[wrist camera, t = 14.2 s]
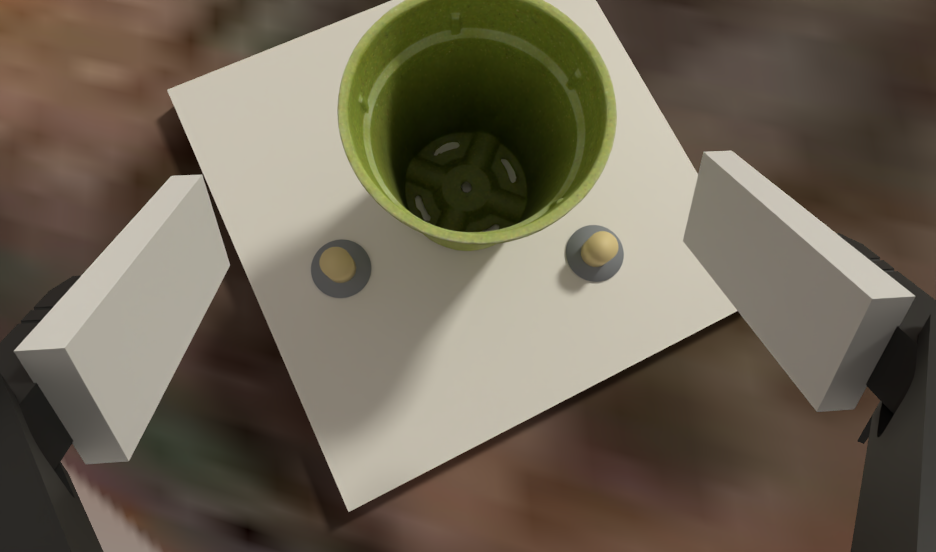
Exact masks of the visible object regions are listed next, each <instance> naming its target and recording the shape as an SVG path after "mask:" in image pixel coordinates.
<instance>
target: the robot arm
mask: <svg viewBox="0 0 936 552" xmlns="http://www.w3.org/2000/svg"><path fill="white" fill-rule="evenodd" d="M683 242H684V243H685V244H686V246H687V247H688V248H689V249H690V251H691V252H692V253H693V254H694V256H695V257H696V258H697V260H698V261H699V262H700V263H701V265H702V266H703V267H704V269H705V270H706V271H707V272H708V274H709V275H710V276H711V277H712V279H713V280H714V281H715V283H716V284H717V285H718V286H719V288H720V289H721V290H722V291H723V293H724V294H725V295H726V297H727V298H728V299H729V300H730V302H731V303H732V304H733V305H734V307H735V308H736V309H737V311H738V312H739V313H740V314H741V316H742V317H743V318H744V320H745V321H746V322H747V323H748V325H749V326H750V327H751V328H752V330H753V331H754V332H755V334H756V335H757V336H758V337H759V339H760V340H761V341H762V342H763V344H764V345H765V346H766V348H767V349H768V350H769V351H770V353H771V354H772V355H773V357H774V358H775V359H776V360H777V362H778V363H779V364H780V365H781V367H782V368H783V369H784V371H785V372H786V373H787V374H788V376H789V377H790V378H791V379H792V381H793V382H794V383H795V385H796V386H797V387H798V388H799V390H800V391H801V392H802V393H803V395H804V396H805V397H806V399H807V400H808V401H809V402H810V404H811V405H812V406H813V408H814V409H815V410H816V411H817V412H822V411H836V410H850V409H855V407H856V405H857V403H858V401H859V400H860V398H861V396H862V394H863V392H864V390H865V389H866V387H867V386H868V387H869V389H870V390H871V391H872V392H873V393H874V394H875V395H876V396H877V397H878V398H879V399H880V400H881V401H880V403H879V404H878V406H877V408H876V409H875V411H874V413H873V415H872V416H871V418H870V420H869V422H868V423H867V425H866V427H865V429H864V430H863V432H862V434H861V436H860V437H859V439H858V442H861V443H863V444H864V443H865V441H866V440H867V439H868V437H869V440H868V446H867V453H866V459H865V465H864V471H863V478H862V484H861V490H860V497H859V503H858V509H857V516H856V522H855V528H854V535H853V541H852V547H851V552H936V300H934V299H933V298H932V297H931V296H929V295H928V294H927V293H925V292H924V291H923V290H921V289H920V288H919V287H917V286H916V285H915V284H914V283H912V282H911V281H910V280H908V279H907V278H906V277H904V276H903V275H902V274H901V273H899V272H898V271H894V268H893V267H891V266H890V265H889V264H888V263H886V262H885V261H884V260H880V257H878V256H877V255H876V254H875V253H873V252H872V251H871V250H869V249H868V248H867V247H865V246H864V245H863V244H861V243H859V242H857V241H854V240H852V239H850V238H848V237H846V236H844V235H842V234H839V233H835V232H834V231H832V230H831V229H830V228H829V227H827V226H826V225H825V224H824V223H822V222H821V221H820V220H818V219H817V218H816V217H815V216H813V215H812V214H811V213H810V212H808V211H807V210H806V209H805V208H803V207H802V206H801V205H800V204H798V203H797V202H796V201H794V200H793V199H792V198H791V197H789V196H788V195H787V194H786V193H784V192H783V191H782V190H781V189H779V188H778V187H777V186H775V185H774V184H773V183H772V182H770V181H769V180H768V179H767V178H765V177H764V176H763V175H762V174H760V173H759V172H758V171H757V170H755V169H754V168H753V167H751V166H750V165H749V164H748V163H746V162H745V161H744V160H743V159H741V158H740V157H739V156H738V155H736V154H735V153H734V152H732V151H712V152H703V156H702V161H701V165H700V169H699V174H698V178H697V182H696V186H695V191H694V195H693V199H692V203H691V208H690V212H689V216H688V221H687V225H686V229H685V233H684V238H683ZM229 266H230V263H229V260H228V257H227V253H226V250H225V247H224V244H223V240H222V237H221V234H220V231H219V227H218V224H217V221H216V218H215V214H214V211H213V208H212V205H211V201H210V198H209V195H208V192H207V188H206V185H205V182H204V179H203V175H182V176H171V177H170V178H169V179H168V180H167V181H166V183H165V184H164V185H163V186H162V187H161V188H160V189H159V190H158V191H157V193H156V194H155V195H154V196H153V197H152V198H151V199H150V200H149V201H148V203H147V204H146V205H145V206H144V207H143V208H142V209H141V210H140V211H139V212H138V214H137V215H136V216H135V217H134V218H133V219H132V220H131V221H130V222H129V224H128V225H127V226H126V227H125V228H124V229H123V230H122V231H121V232H120V234H119V235H118V236H117V237H116V238H115V239H114V240H113V241H112V242H111V244H110V245H109V246H108V247H107V248H106V249H105V250H104V251H103V252H102V254H101V255H100V256H99V257H98V258H97V259H96V260H95V261H94V262H93V264H92V265H91V266H90V267H89V268H88V269H87V270H86V271H85V272H84V274H83V275H82V276H72V277H71V278H69V279H68V280H66V281H64V282H63V283H61V284H60V285H58V286H56V287H55V288H53V289H52V290H50V291H49V292H48V293H47V294H46V295H45V296H44V297H43V298H42V299H41V300H40V301H39V302H38V303H37V304H36V306H35V307H34V310H31V311H30V312H29V313H28V314H27V315H26V316H25V317H24V318H23V319H22V320H21V324H17V326H16V327H15V328H14V329H13V330H12V331H11V332H10V333H9V334H8V335H7V336H6V337H5V338H4V339H3V340H2V341H1V342H0V552H103V550H102V548H101V545H100V543H99V541H98V539H97V537H96V534H95V532H94V530H93V528H92V525H91V523H90V521H89V519H88V516H87V514H86V512H85V510H84V507H83V505H82V503H81V501H80V498H79V496H78V494H77V492H76V490H75V487H74V485H73V483H72V481H71V478H70V476H69V474H68V472H67V471H66V469H65V468H64V466H63V465H62V463H61V462H60V461H61V460H62V458H63V457H64V455H65V453H66V452H67V450H68V449H69V447H70V446H71V444H73V445H74V447H75V448H76V450H77V451H78V453H79V455H80V456H81V458H82V459H83V461H84V462H85V464H96V463H110V462H124V461H129V460H130V458H131V456H132V454H133V452H134V450H135V448H136V446H137V444H138V442H139V440H140V439H141V437H142V435H143V433H144V431H145V429H146V427H147V425H148V423H149V421H150V419H151V417H152V415H153V413H154V411H155V410H156V408H157V406H158V404H159V402H160V400H161V398H162V396H163V394H164V392H165V390H166V388H167V386H168V384H169V382H170V381H171V379H172V377H173V375H174V373H175V371H176V369H177V367H178V365H179V363H180V361H181V359H182V357H183V355H184V353H185V352H186V350H187V348H188V346H189V344H190V342H191V340H192V338H193V336H194V334H195V332H196V330H197V328H198V326H199V324H200V323H201V321H202V319H203V317H204V315H205V313H206V311H207V309H208V307H209V305H210V303H211V301H212V299H213V297H214V295H215V294H216V292H217V290H218V288H219V286H220V284H221V282H222V280H223V278H224V276H225V274H226V272H227V270H228V268H229Z"/></svg>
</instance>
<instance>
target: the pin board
mask: <svg viewBox="0 0 936 552" xmlns="http://www.w3.org/2000/svg"><path fill="white" fill-rule="evenodd" d="M403 1H405V0H392V1H389V2H387V3H384V4H382V5H379V6H376V7H374V8H371V9H369V10H366V11H364V12H361V13H359V14H356V15H354V16H351V17H349V18H346V19H344V20H341V21H339V22H336V23H334V24H331V25H329V26H326V27H324V28H321V29H319V30H316V31H314V32H311V33H309V34H306V35H304V36H301V37H299V38H296V39H294V40H291V41H289V42H286V43H284V44H281V45H279V46H276V47H274V48H271V49H269V50H266V51H264V52H261V53H259V54H256V55H254V56H251V57H248V58H246V59H243V60H241V61H238V62H236V63H233V64H231V65H228V66H226V67H223V68H221V69H218V70H216V71H213V72H211V73H208V74H206V75H203V76H201V77H198V78H196V79H193V80H191V81H188V82H186V83H183V84H181V85H178V86H176V87H173V88H171V89H168V90H167V91H168V93H169V95H170V98H171V100H172V102H173V105H174V107H175V109H176V112H177V114H178V116H179V119H180V121H181V123H182V126H183V128H184V130H185V133H186V135H187V137H188V140H189V142H190V144H191V147H192V149H193V151H194V154H195V156H196V158H197V161H198V163H199V165H200V168H201V170H202V172H203V174H204V177H205V179H206V181H207V184H208V186H209V188H210V191H211V193H212V195H213V198H214V200H215V202H216V205H217V207H218V209H219V212H220V214H221V216H222V219H223V221H224V223H225V226H226V228H227V230H228V233H229V235H230V237H231V240H232V242H233V244H234V247H235V249H236V251H237V254H238V256H239V258H240V261H241V263H242V265H243V268H244V270H245V272H246V275H247V277H248V279H249V282H250V284H251V286H252V289H253V291H254V293H255V296H256V298H257V300H258V303H259V305H260V307H261V310H262V312H263V314H264V317H265V319H266V321H267V324H268V326H269V328H270V330H271V333H272V335H273V337H274V340H275V342H276V344H277V347H278V349H279V351H280V354H281V356H282V358H283V361H284V363H285V365H286V368H287V370H288V372H289V375H290V377H291V379H292V382H293V384H294V386H295V389H296V391H297V393H298V396H299V398H300V400H301V403H302V405H303V407H304V410H305V412H306V414H307V417H308V419H309V421H310V424H311V426H312V428H313V431H314V433H315V435H316V438H317V440H318V442H319V445H320V447H321V449H322V452H323V454H324V456H325V459H326V461H327V463H328V466H329V468H330V470H331V473H332V475H333V477H334V480H335V482H336V484H337V486H338V489H339V491H340V493H341V496H342V498H343V500H344V503H345V505H346V507H347V510H348V512H350V511H352V510H354V509H356V508H357V507H359V506H361V505H363V504H365V503H367V502H369V501H371V500H373V499H375V498H377V497H379V496H381V495H383V494H385V493H386V492H388V491H390V490H392V489H394V488H396V487H398V486H400V485H402V484H404V483H406V482H408V481H410V480H412V479H414V478H415V477H417V476H419V475H421V474H423V473H425V472H427V471H429V470H431V469H433V468H435V467H437V466H439V465H441V464H442V463H444V462H446V461H448V460H450V459H452V458H454V457H456V456H458V455H460V454H462V453H464V452H466V451H468V450H470V449H471V448H473V447H475V446H477V445H479V444H481V443H483V442H485V441H487V440H489V439H491V438H493V437H495V436H497V435H499V434H500V433H502V432H504V431H506V430H508V429H510V428H512V427H514V426H516V425H518V424H520V423H522V422H524V421H526V420H528V419H529V418H531V417H533V416H535V415H537V414H539V413H541V412H543V411H545V410H547V409H549V408H551V407H553V406H555V405H557V404H558V403H560V402H562V401H564V400H566V399H568V398H570V397H572V396H574V395H576V394H578V393H580V392H582V391H584V390H586V389H587V388H589V387H591V386H593V385H595V384H597V383H599V382H601V381H603V380H605V379H607V378H609V377H611V376H613V375H615V374H616V373H618V372H620V371H622V370H624V369H626V368H628V367H630V366H632V365H634V364H636V363H638V362H640V361H642V360H644V359H645V358H647V357H649V356H651V355H653V354H655V353H657V352H659V351H661V350H663V349H665V348H667V347H669V346H671V345H673V344H674V343H676V342H678V341H680V340H682V339H684V338H686V337H688V336H690V335H692V334H694V333H696V332H698V331H700V330H702V329H703V328H705V327H707V326H709V325H711V324H713V323H715V322H717V321H719V320H721V319H723V318H725V317H727V316H729V315H731V314H732V313H734V312H736V311H737V309H736V308H735V307H734V305H733V304H732V303H731V302H730V300H729V299H728V298H727V297H726V295H725V294H724V293H723V291H722V290H721V289H720V288H719V286H718V285H717V284H716V283H715V281H714V280H713V279H712V277H711V276H710V275H709V274H708V272H707V271H706V270H705V269H704V267H703V266H702V265H701V263H700V262H699V261H698V260H697V258H696V257H695V256H694V254H693V253H692V252H691V251H690V249H689V248H688V247H687V246H686V244H685V243H684V242H683V238H684V233H685V229H686V225H687V221H688V216H689V212H690V208H691V203H692V199H693V195H694V191H695V186H696V182H697V178H698V174H697V172H696V170H695V169H694V167H693V165H692V164H691V162H690V160H689V159H688V157H687V155H686V153H685V152H684V150H683V148H682V147H681V145H680V143H679V141H678V140H677V138H676V136H675V135H674V133H673V131H672V130H671V128H670V126H669V124H668V123H667V121H666V119H665V118H664V116H663V114H662V112H661V111H660V109H659V107H658V106H657V104H656V102H655V101H654V99H653V97H652V95H651V94H650V92H649V90H648V89H647V87H646V85H645V83H644V82H643V80H642V78H641V77H640V75H639V73H638V72H637V70H636V68H635V66H634V65H633V63H632V61H631V60H630V58H629V56H628V54H627V53H626V51H625V49H624V48H623V46H622V44H621V43H620V41H619V39H618V37H617V36H616V34H615V32H614V31H613V29H612V27H611V25H610V24H609V22H608V20H607V19H606V17H605V15H604V14H603V12H602V10H601V8H600V7H599V5H598V3H597V2H596V0H544V1H545V2H547V3H550V4H551V5H553V6H554V7H556V8H558V9H559V10H560V11H561V12H563V13H564V14H565V15H567V16H568V17H569V18H570V19H571V20H572V21H574V22H575V23H576V24H577V25H578V26H579V27H580V28H581V29H582V30H583V31H584V32H585V33H586V35H587V36H588V37H589V38H590V39H591V41H592V42H593V43H594V45H595V47H596V48H597V50H598V52H599V53H600V55H601V57H602V59H603V61H604V63H605V65H606V67H607V69H608V71H609V74H610V77H611V80H612V83H613V88H614V93H615V99H616V110H617V125H616V133H615V138H614V143H613V147H612V151H611V153H610V156H609V158H608V161H607V163H606V166H605V168H604V170H603V172H602V174H601V175H600V177H599V179H598V180H597V182H596V183H595V185H594V186H593V188H592V189H591V190H590V192H589V193H588V194H587V195H586V196H585V198H584V199H583V200H582V201H581V202H580V203H579V204H578V205H576V206H575V207H574V208H573V209H572V210H571V211H570V212H568V213H567V214H566V215H565V216H564V217H562V218H561V219H559V220H558V221H556V222H555V223H553V224H552V225H550V226H548V227H547V228H545V229H543V230H541V231H539V232H537V233H534V234H532V235H530V236H528V237H524V238H521V239H518V240H514V241H510V242H504V243H499V244H495V245H493V246H491V247H488V248H485V249H480V250H474V251H459V250H454V249H450V248H447V247H444V246H441V245H439V244H437V243H435V242H433V241H431V240H430V239H428V238H427V237H426V236H425V235H424V234H422V233H420V232H418V231H416V230H414V229H412V228H410V227H408V226H407V225H405V224H403V223H402V222H400V221H399V220H397V219H396V218H394V217H393V216H392V215H391V214H389V213H388V212H387V211H385V210H384V209H383V208H382V207H381V206H380V205H379V204H378V203H377V202H376V201H375V200H374V199H373V198H372V197H371V196H370V194H369V193H368V192H367V191H366V190H365V188H364V187H363V186H362V184H361V183H360V181H359V180H358V178H357V176H356V175H355V173H354V171H353V169H352V167H351V165H350V163H349V161H348V159H347V156H346V154H345V151H344V148H343V145H342V141H341V137H340V132H339V127H338V114H337V109H338V96H339V89H340V83H341V80H342V76H343V72H344V70H345V67H346V65H347V62H348V60H349V58H350V56H351V54H352V52H353V50H354V48H355V47H356V45H357V44H358V42H359V40H360V39H361V38H362V36H363V35H364V34H365V33H366V31H367V30H368V29H369V28H371V26H372V25H373V24H374V23H375V22H376V21H377V20H379V19H380V18H381V17H382V16H383V15H384V14H385V13H387V12H388V11H389V10H390V9H391V8H393V7H395V6H396V5H398V4H399V3H401V2H403ZM459 146H460V145H459V143H458V142H451V143H447V144H445V145H443V146H441V147H440V148H438V149H437V150H436V151H435V154H434V155H435V156H436V155H438V153H440V154H441V153H443V152H445V151H448V150H451V149H455V148H458V147H459ZM501 162H502V163H503V165H504V166H505V168H506V170H507V172H508V175H509V178H510V181H511V182H512V183H514V182H515V181H516V175H515V172H514V170H513V168H512V166H511V165H510V163H509V162H508V161H507V160H506V159H501ZM461 188H462V190H463V191H464V192H470V191H471V185H470V184H469V183H467V182H465V183H463V184H462V186H461ZM415 202H416V207H417V208H418V209H419V210H420V211H421V214H422V216H423V218H424V220H428V221H430V219H431V217H430V215H429V214H428V213H427V211H426V209H425V207H424V204H423V202H422V198H421V196H419V195H418V196H417V197H416V198H415ZM498 229H499V225H498V224H495V225H493V226H491V227H490V228H488V229H486V230H483V231H480V232H487V231H493V230H498Z"/></svg>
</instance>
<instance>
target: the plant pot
mask: <svg viewBox="0 0 936 552" xmlns="http://www.w3.org/2000/svg"><path fill="white" fill-rule="evenodd" d="M337 114H338V127H339V132H340V137H341V141H342V145H343V148H344V151H345V154H346V156H347V159H348V161H349V163H350V165H351V167H352V169H353V171H354V173H355V175H356V176H357V178H358V180H359V181H360V183H361V184H362V186H363V187H364V188H365V190H366V191H367V192H368V193H369V194H370V196H371V197H372V198H373V199H374V200H375V201H376V202H377V203H378V204H379V205H380V206H381V207H382V208H383V209H384V210H385V211H387V212H388V213H389V214H391V215H392V216H393V217H394V218H396V219H397V220H399V221H400V222H402V223H403V224H405V225H407V226H408V227H410V228H412V229H414V230H416V231H418V232H420V233H422V234H424V235H425V236H426V237H427V238H428V239H430V240H431V241H433V242H435V243H437V244H439V245H441V246H444V247H447V248H450V249H454V250H459V251H474V250H480V249H485V248H488V247H491V246H493V245H495V244H499V243H504V242H510V241H514V240H518V239H521V238H524V237H528V236H530V235H532V234H534V233H537V232H539V231H541V230H543V229H545V228H547V227H548V226H550V225H552V224H553V223H555V222H556V221H558V220H559V219H561V218H562V217H564V216H565V215H566V214H567V213H568V212H570V211H571V210H572V209H573V208H574V207H575V206H576V205H578V204H579V203H580V202H581V201H582V200H583V199H584V198H585V196H586V195H587V194H588V193H589V192H590V190H591V189H592V188H593V186H594V185H595V183H596V182H597V180H598V179H599V177H600V175H601V174H602V172H603V170H604V168H605V166H606V163H607V161H608V158H609V156H610V153H611V151H612V147H613V143H614V138H615V133H616V125H617V110H616V99H615V93H614V88H613V83H612V80H611V77H610V74H609V71H608V69H607V67H606V65H605V63H604V61H603V59H602V57H601V55H600V53H599V52H598V50H597V48H596V47H595V45H594V43H593V42H592V41H591V39H590V38H589V37H588V36H587V35H586V33H585V32H584V31H583V30H582V29H581V28H580V27H579V26H578V25H577V24H576V23H575V22H574V21H572V20H571V19H570V18H569V17H568V16H567V15H565V14H564V13H563V12H561V11H560V10H559V9H558V8H556V7H554V6H553V5H551V4H550V3H547V2H545V1H544V0H405V1H403V2H401V3H399V4H398V5H396V6H395V7H393V8H391V9H390V10H389V11H388V12H387V13H385V14H384V15H383V16H382V17H381V18H380V19H379V20H377V21H376V22H375V23H374V24H373V25H372V26H371V28H369V29H368V30H367V31H366V33H365V34H364V35H363V36H362V38H361V39H360V40H359V42H358V44H357V45H356V47H355V48H354V50H353V52H352V54H351V56H350V58H349V60H348V62H347V65H346V67H345V70H344V72H343V76H342V80H341V83H340V89H339V96H338V109H337ZM451 142H458V143H459V145H460V146H459V147H458V148H455V149H451V150H448V151H445V152H443V153H441V154H440V153H438V155H436V156H435V155H434V154H435V151H436V150H437V149H438V148H440V147H441V146H443V145H445V144H447V143H451ZM501 159H506V160H507V161H508V162H509V163H510V165H511V166H512V168H513V170H514V172H515V175H516V181H515V182H514V183H512V182H511V181H510V178H509V175H508V172H507V170H506V168H505V166H504V165H503V163H502V162H501ZM465 182H467V183H469V184H470V185H471V191H470V192H464V191H463V190H462V188H461V186H462V184H463V183H465ZM418 195H419V196H421V198H422V202H423V204H424V207H425V209H426V211H427V213H428V214H429V215H430V217H431V219H430V221H428V220H424V218H423V216H422V214H421V211H420V210H419V209H418V208H417V207H416V202H415V198H416V197H417V196H418ZM495 224H498V225H499V229H498V230H493V231H487V232H480V231H483V230H486V229H488V228H490V227H491V226H493V225H495Z"/></svg>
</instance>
